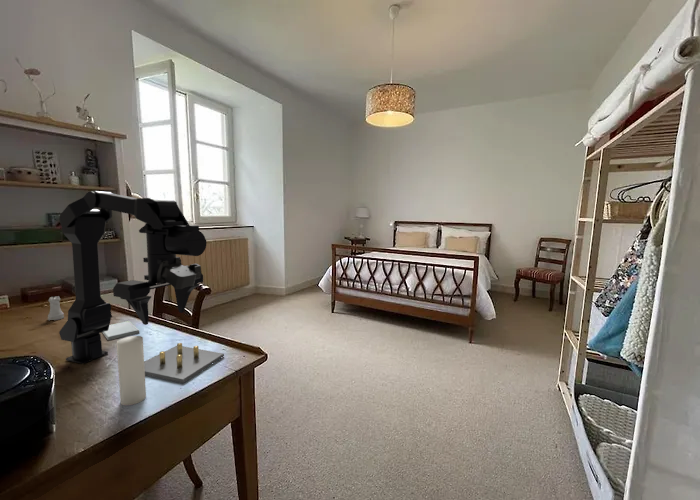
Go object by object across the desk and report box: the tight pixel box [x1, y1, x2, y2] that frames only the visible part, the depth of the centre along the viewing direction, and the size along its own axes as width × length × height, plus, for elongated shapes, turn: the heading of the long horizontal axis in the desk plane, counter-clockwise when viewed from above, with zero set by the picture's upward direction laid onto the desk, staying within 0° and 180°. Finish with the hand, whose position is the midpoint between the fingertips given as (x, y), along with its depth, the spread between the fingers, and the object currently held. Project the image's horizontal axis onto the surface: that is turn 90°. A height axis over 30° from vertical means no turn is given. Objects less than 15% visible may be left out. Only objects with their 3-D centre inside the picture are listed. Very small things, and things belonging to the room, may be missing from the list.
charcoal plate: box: [144, 342, 225, 384], centre depth 79 cm, size 16×14×4 cm
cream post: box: [116, 335, 147, 406], centre depth 63 cm, size 4×4×13 cm
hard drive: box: [101, 320, 140, 341], centre depth 100 cm, size 2×8×12 cm
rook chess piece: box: [47, 295, 65, 321], centre depth 109 cm, size 4×4×8 cm
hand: (164, 318), depth 72 cm, fingers open, 9 cm apart
